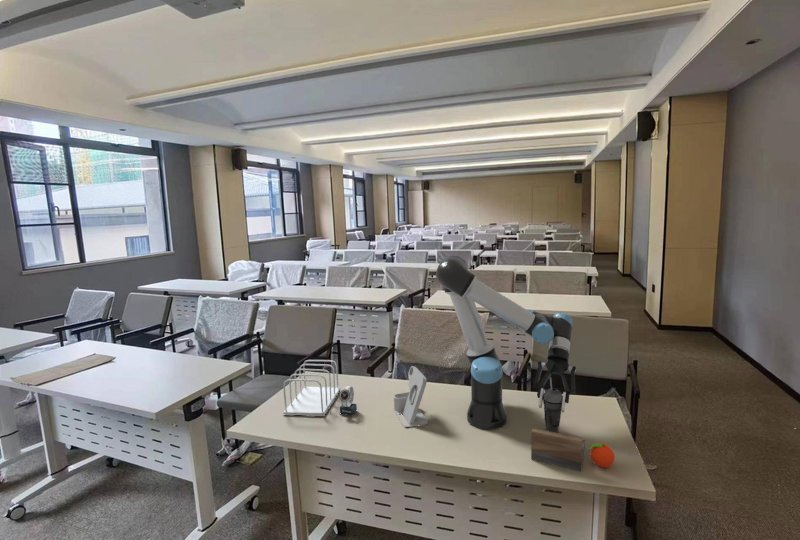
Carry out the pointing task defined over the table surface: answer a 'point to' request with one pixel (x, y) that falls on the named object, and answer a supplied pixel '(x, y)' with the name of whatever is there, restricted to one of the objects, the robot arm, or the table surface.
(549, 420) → the beverage cup
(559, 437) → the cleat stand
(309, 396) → the file sorter
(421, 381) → the phone holder
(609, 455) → the clementine
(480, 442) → the table surface
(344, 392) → the webcam
